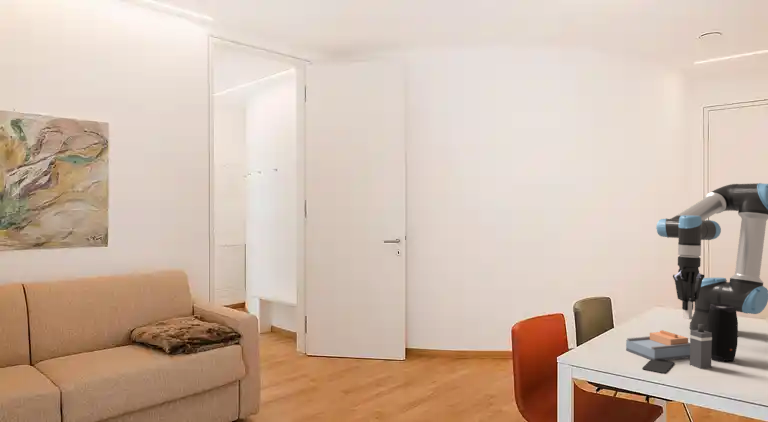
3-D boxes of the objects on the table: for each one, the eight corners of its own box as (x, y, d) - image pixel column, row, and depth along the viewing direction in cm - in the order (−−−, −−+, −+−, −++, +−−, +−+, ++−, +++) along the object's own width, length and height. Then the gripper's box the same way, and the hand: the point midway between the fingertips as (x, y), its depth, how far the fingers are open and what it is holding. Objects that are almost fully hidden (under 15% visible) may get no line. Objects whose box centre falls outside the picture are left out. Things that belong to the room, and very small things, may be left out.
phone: (641, 368, 184) (652, 357, 195) (641, 370, 184) (652, 360, 195) (665, 373, 179) (675, 361, 191) (665, 375, 179) (675, 364, 191)
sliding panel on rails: (668, 346, 212) (668, 334, 212) (698, 356, 199) (699, 343, 198) (626, 350, 206) (626, 337, 206) (654, 361, 193) (654, 347, 193)
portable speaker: (740, 364, 190) (741, 308, 189) (710, 361, 193) (711, 306, 192) (732, 356, 198) (733, 303, 198) (703, 354, 201) (704, 302, 200)
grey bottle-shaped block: (699, 363, 190) (700, 322, 190) (711, 367, 186) (712, 325, 185) (689, 364, 189) (690, 323, 189) (700, 368, 185) (701, 326, 184)
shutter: (666, 337, 209) (666, 328, 209) (688, 344, 200) (688, 335, 199) (649, 339, 207) (649, 330, 207) (670, 346, 197) (670, 336, 197)
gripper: (694, 254, 210) (692, 315, 211) (667, 255, 207) (665, 317, 207) (711, 257, 203) (709, 319, 204) (683, 257, 199) (681, 321, 200)
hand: (687, 318), depth 205 cm, fingers closed
